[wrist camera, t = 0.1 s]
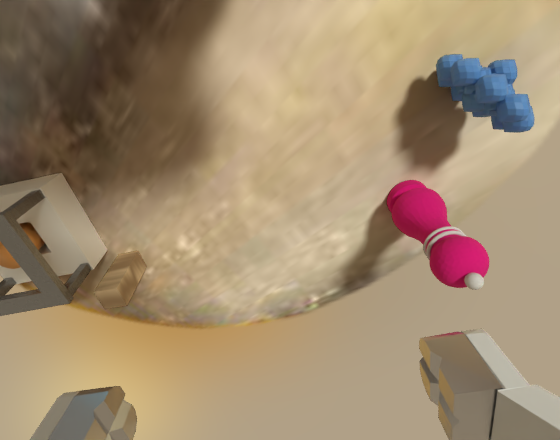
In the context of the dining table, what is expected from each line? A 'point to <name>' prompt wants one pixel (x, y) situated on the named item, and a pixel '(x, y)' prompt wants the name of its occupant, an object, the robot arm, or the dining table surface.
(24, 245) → the guard frame
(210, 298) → the dining table surface
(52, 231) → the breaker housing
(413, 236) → the pepper mill
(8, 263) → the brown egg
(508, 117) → the blue flower gear
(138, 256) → the wooden toy block
